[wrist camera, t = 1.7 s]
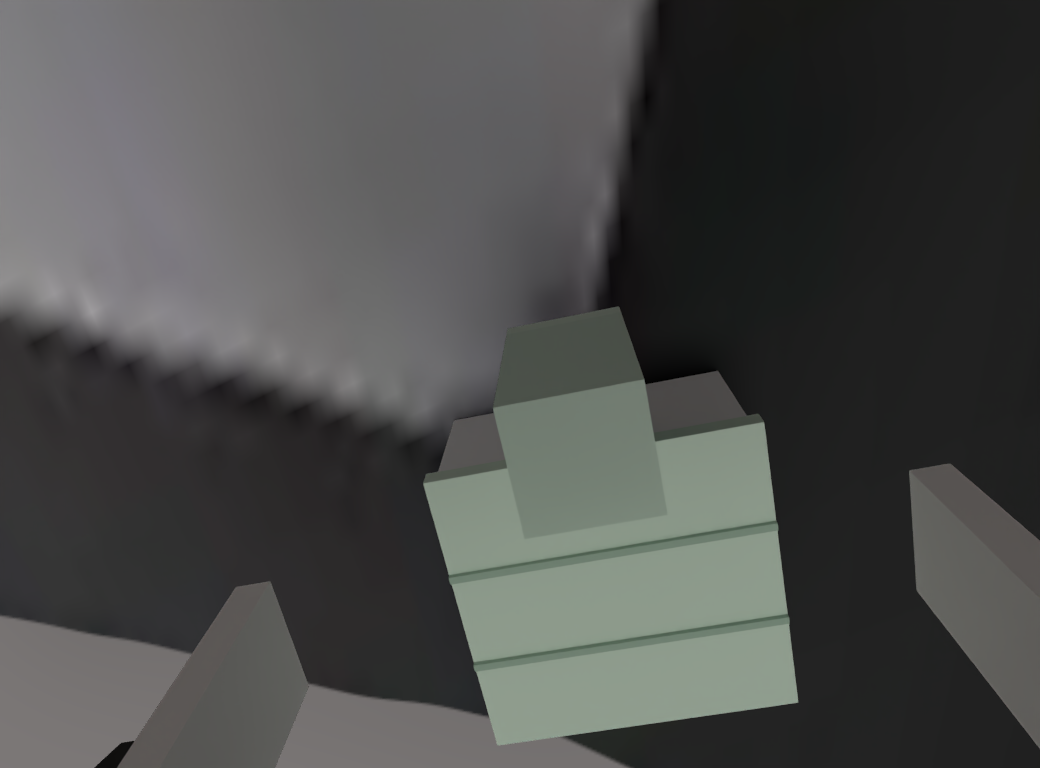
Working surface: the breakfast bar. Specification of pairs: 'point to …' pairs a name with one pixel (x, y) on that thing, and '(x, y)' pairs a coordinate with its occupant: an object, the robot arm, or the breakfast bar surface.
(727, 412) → the tub
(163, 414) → the breakfast bar surface
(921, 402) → the breakfast bar surface
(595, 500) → the green stepped block
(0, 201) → the breakfast bar surface
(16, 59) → the breakfast bar surface
